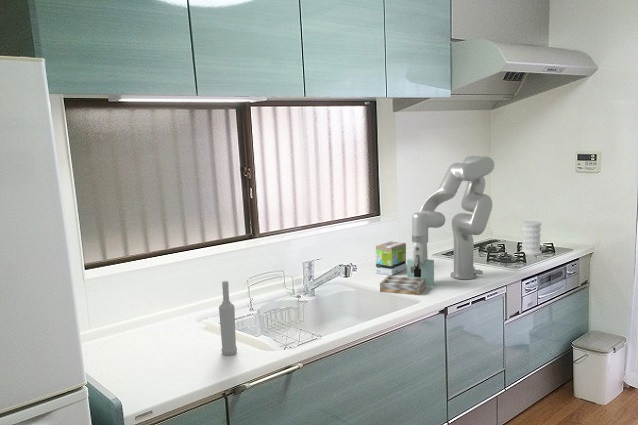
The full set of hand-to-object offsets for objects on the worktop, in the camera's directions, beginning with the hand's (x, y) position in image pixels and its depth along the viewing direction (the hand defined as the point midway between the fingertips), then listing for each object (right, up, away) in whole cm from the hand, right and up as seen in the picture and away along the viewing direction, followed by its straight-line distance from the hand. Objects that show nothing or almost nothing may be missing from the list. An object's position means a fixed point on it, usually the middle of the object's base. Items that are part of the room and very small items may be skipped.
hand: (419, 274), depth 262 cm
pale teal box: (+1, -5, +1) cm, 5 cm away
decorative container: (+75, +6, +58) cm, 95 cm away
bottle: (-78, -19, -74) cm, 109 cm away
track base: (-9, -6, -6) cm, 12 cm away
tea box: (-10, -2, +27) cm, 29 cm away
